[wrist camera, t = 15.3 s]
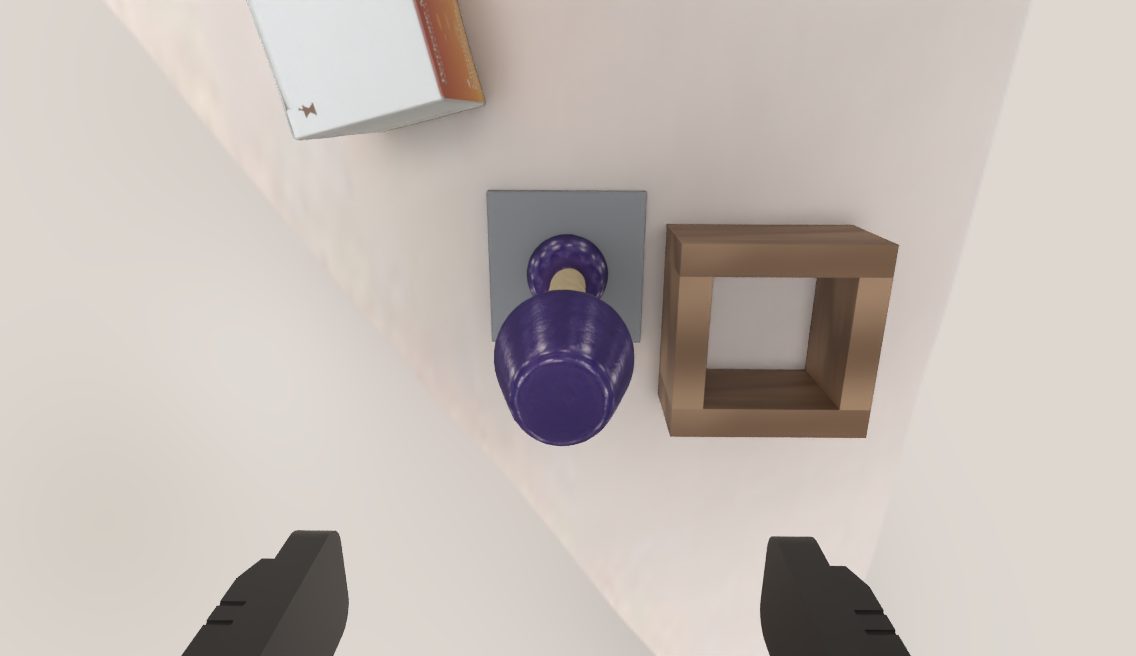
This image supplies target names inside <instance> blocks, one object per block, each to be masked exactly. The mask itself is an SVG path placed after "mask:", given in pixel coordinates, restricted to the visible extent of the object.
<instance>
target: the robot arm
mask: <svg viewBox="0 0 1136 656" xmlns="http://www.w3.org/2000/svg"><path fill="white" fill-rule="evenodd" d="M348 606H349V598H348V590H347V582H346V575H345V568H344V561H343V553H342V547H341V540H340V536H339V534H338V532H337V531H303V530H297V531H294V532H293V533H292V534H291V535H290V536H289V538H288V539H287V541H286V542H285V544H284V545H283V547H282V548H281V550H280V551H279V553H278V554H277V556H276V557H275V559H261V560H260V561H259V562H257V563H256V564H254V565H253V566H252V567H251V568H249V569H248V570H247V571H245V572H244V573H243V574H242V575H240V576H239V577H238V578H236V580H235V581H234V583H233V584H232V585H231V587H230V588H229V590H228V591H227V592H226V594H225V595H224V597H223V598H222V600H221V601H220V605H219V606H216V608H215V609H214V611H213V612H212V613H211V615H210V616H209V618H208V619H207V623H206V625H203V626H202V628H201V629H200V630H199V632H198V633H197V635H196V636H195V637H194V639H193V640H192V642H191V643H190V644H189V646H188V647H187V649H186V650H185V651H184V653H183V654H182V656H333V655H334V653H335V650H336V648H337V646H338V644H339V641H340V639H341V637H342V635H343V632H344V629H345V625H346V621H347V616H348ZM760 617H761V626H762V632H763V636H764V640H765V643H766V646H767V649H768V652H769V655H770V656H910V654H909V652H908V651H907V649H906V647H905V646H904V644H903V642H902V641H901V639H900V637H899V635H896V634H895V629H894V627H893V625H892V624H891V622H890V621H889V619H888V617H887V615H884V613H883V609H882V607H881V605H880V604H879V602H878V600H877V599H876V597H875V595H874V594H873V592H872V590H871V589H870V587H869V586H868V585H867V584H866V583H864V582H863V581H862V580H861V579H860V578H859V577H857V576H856V575H855V574H854V573H853V572H852V571H851V570H849V569H848V568H847V567H846V566H830V565H829V563H828V561H827V560H826V558H825V556H824V554H823V552H822V550H821V548H820V547H819V545H818V543H817V541H816V540H815V539H814V538H813V537H775V536H772V537H771V538H770V539H769V542H768V546H767V553H766V562H765V570H764V578H763V586H762V594H761V603H760Z"/></svg>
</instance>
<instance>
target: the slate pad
mask: <svg viewBox="0 0 1136 656" xmlns="http://www.w3.org/2000/svg"><path fill="white" fill-rule="evenodd" d="M645 212H646V191H555V190H488V191H487V218H488V244H489V271H490V298H491V325H492V342H496V339H497V336H498V333H499V331H500V329H501V326H502V324H503V323H504V321H505V320H506V318H507V317H508V315H509V314H510V313H511V312H512V311H513V310H514V309H515V308H516V307H517V306H518V305H520V304H521V303H522V302H524V301H525V300H527V299H529V298H531V297H532V296H533V295H532V294H531V291H530V289H529V286H528V282H527V267H528V262H529V259H530V257H531V255H532V254H533V252H534V250H535V249H536V248H537V247H538V246H539V245H540V244H541V243H542V242H544V241H545V240H547V239H549V238H551V237H553V236H557V235H562V234H573V235H576V236H580V237H583V238H585V239H587V240H589V241H590V242H592V243H593V244H594V245H596V246H597V247H598V249H599V250H600V251H601V253H602V254H603V256H604V258H605V261H606V263H607V268H608V281H607V285H606V288H605V291H604V293H603V295H602V296H601V298H600V299H601V300H603V301H604V302H606V303H607V304H608V305H610V306H611V307H612V308H613V309H614V310H615V311H616V312H617V313H618V314H619V315H620V317H621V318H622V320H623V321H624V323H625V324H626V326H627V328H628V330H629V333H630V335H631V338H632V342H640V332H641V308H642V284H643V260H644V236H645Z"/></svg>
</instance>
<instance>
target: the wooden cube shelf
mask: <svg viewBox="0 0 1136 656" xmlns="http://www.w3.org/2000/svg"><path fill="white" fill-rule="evenodd" d="M898 247H899V245H898V244H895V243H893V242H891V241H888V240H886V239H884V238H881V237H879V236H877V235H875V234H872V233H870V232H868V231H865V230H863V229H861V228H859V227H856V226H854V225H707V224H667V233H666V252H665V271H664V290H663V309H662V328H661V347H660V366H659V385H658V395H659V399H660V402H661V406H662V409H663V413H664V416H665V420H666V423H667V427H668V430H669V434H670V436H678V437H813V438H866V435H867V429H868V423H869V417H870V411H871V405H872V399H873V394H874V388H875V382H876V376H877V370H878V364H879V358H880V352H881V347H882V341H883V335H884V329H885V323H886V317H887V311H888V306H889V300H890V294H891V288H892V282H893V276H894V270H895V265H896V259H897V253H898ZM713 277H817V283H816V290H815V298H814V305H813V313H812V321H811V328H810V336H809V344H808V351H807V359H806V366H805V370H711V369H706V364H707V351H708V338H709V325H710V312H711V299H712V287H713Z"/></svg>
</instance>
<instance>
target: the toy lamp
mask: <svg viewBox="0 0 1136 656" xmlns="http://www.w3.org/2000/svg"><path fill="white" fill-rule="evenodd" d="M607 281H608V268H607V263H606V261H605V258H604V256H603V254H602V253H601V251H600V250H599V249H598V247H597V246H596V245H594V244H593V243H592V242H590V241H589V240H587V239H585V238H583V237H580V236H576V235H573V234H562V235H557V236H553V237H551V238H549V239H547V240H545V241H544V242H542V243H541V244H540V245H539V246H538V247H537V248H536V249H535V250H534V252H533V254H532V255H531V257H530V259H529V262H528V267H527V282H528V286H529V289H530V291H531V294H532V295H533V296H532V297H531V298H529V299H527V300H525V301H524V302H522V303H521V304H520V305H518V306H517V307H516V308H515V309H514V310H513V311H512V312H511V313H510V314H509V315H508V317H507V318H506V320H505V321H504V323H503V324H502V326H501V329H500V331H499V333H498V336H497V339H496V343H495V350H494V365H495V372H496V376H497V379H498V382H499V385H500V387H501V390H502V392H503V395H504V397H505V400H506V402H507V405H508V407H509V409H510V412H511V414H512V416H513V418H514V420H515V421H516V422H517V423H518V425H519V426H520V427H521V429H522V430H524V431H525V432H526V433H527V434H528V435H530V436H531V437H533V438H534V439H536V440H538V441H540V442H542V443H545V444H549V445H555V446H569V445H575V444H578V443H582V442H585V441H587V440H588V439H590V438H592V437H593V436H595V435H596V434H598V433H599V432H600V431H601V430H602V429H603V428H604V427H605V426H606V424H607V423H608V422H609V420H610V419H611V417H612V416H613V414H614V412H615V410H616V409H617V407H618V405H619V403H620V402H621V399H622V397H623V396H624V394H625V392H626V390H627V388H628V386H629V383H630V380H631V377H632V373H633V368H634V348H633V342H632V338H631V335H630V333H629V330H628V328H627V326H626V324H625V323H624V321H623V320H622V318H621V317H620V315H619V314H618V313H617V312H616V311H615V310H614V309H613V308H612V307H611V306H610V305H608V304H607V303H606V302H604V301H603V300H601V299H600V298H601V296H602V295H603V293H604V291H605V288H606V285H607Z"/></svg>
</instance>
